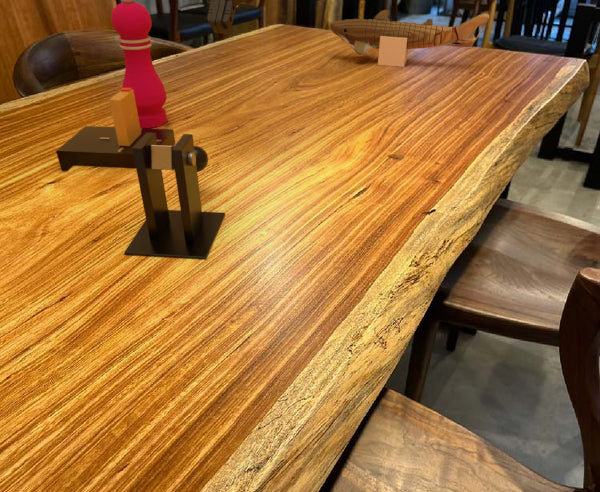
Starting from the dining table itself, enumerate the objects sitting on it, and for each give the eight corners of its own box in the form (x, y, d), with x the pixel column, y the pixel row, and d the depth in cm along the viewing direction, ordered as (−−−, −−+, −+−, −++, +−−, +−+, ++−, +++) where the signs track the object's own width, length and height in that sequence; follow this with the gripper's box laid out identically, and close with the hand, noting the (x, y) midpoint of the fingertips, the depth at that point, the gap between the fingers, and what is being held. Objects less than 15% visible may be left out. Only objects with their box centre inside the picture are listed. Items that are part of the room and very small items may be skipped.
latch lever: (186, 171, 68) (186, 145, 68) (210, 172, 68) (210, 146, 67) (146, 173, 55) (145, 140, 54) (177, 174, 55) (176, 141, 54)
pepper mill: (155, 131, 89) (133, -5, 77) (118, 126, 91) (91, -8, 79) (177, 118, 95) (160, -12, 82) (142, 113, 97) (120, -15, 84)
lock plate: (61, 170, 77) (55, 149, 75) (89, 144, 85) (85, 124, 83) (156, 175, 76) (152, 153, 74) (176, 148, 84) (173, 128, 82)
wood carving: (478, 74, 118) (489, 17, 111) (324, 62, 125) (326, 8, 118) (479, 64, 125) (489, 10, 118) (333, 53, 132) (335, 2, 125)
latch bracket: (154, 217, 66) (136, 122, 59) (226, 221, 65) (217, 125, 58) (125, 262, 58) (101, 158, 51) (206, 266, 57) (194, 162, 50)
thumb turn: (129, 146, 76) (120, 98, 72) (118, 146, 76) (108, 97, 72) (141, 133, 80) (133, 87, 76) (131, 133, 80) (122, 86, 76)
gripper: (187, -123, 66) (156, 6, 64) (289, -123, 63) (260, 12, 61) (208, -73, 73) (181, 44, 71) (301, -71, 70) (275, 51, 69)
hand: (218, 29), depth 66 cm, fingers closed
